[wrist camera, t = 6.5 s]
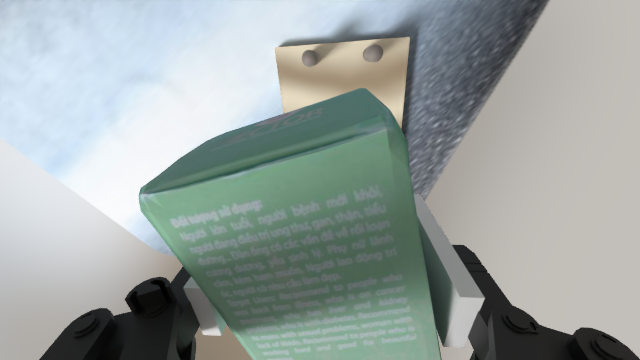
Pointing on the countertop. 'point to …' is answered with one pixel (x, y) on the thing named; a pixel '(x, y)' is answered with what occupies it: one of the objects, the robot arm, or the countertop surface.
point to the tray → (344, 72)
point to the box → (305, 233)
